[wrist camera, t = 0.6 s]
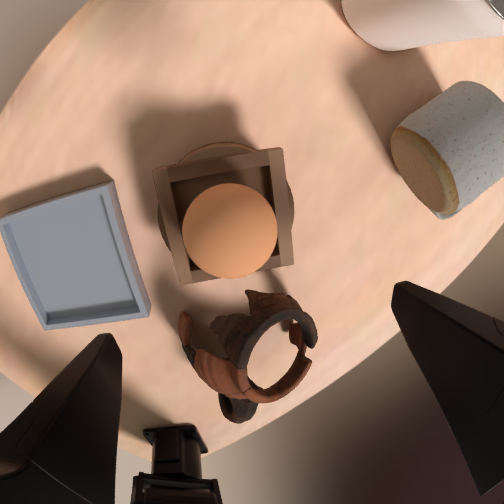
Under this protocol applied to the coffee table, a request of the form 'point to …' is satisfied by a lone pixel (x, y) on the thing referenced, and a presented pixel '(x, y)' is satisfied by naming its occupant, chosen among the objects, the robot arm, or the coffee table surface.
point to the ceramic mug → (451, 147)
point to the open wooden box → (215, 173)
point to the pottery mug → (240, 347)
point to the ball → (229, 230)
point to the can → (423, 21)
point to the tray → (76, 259)
